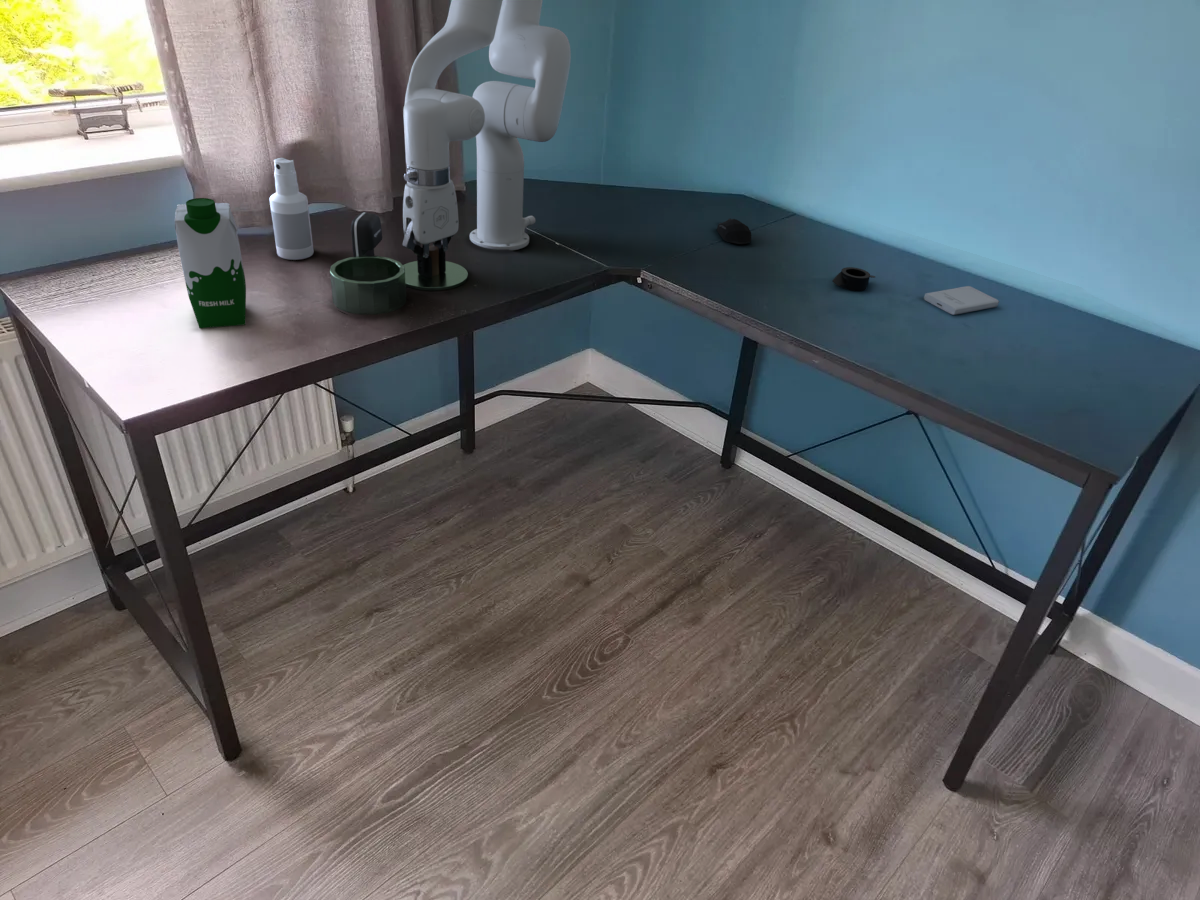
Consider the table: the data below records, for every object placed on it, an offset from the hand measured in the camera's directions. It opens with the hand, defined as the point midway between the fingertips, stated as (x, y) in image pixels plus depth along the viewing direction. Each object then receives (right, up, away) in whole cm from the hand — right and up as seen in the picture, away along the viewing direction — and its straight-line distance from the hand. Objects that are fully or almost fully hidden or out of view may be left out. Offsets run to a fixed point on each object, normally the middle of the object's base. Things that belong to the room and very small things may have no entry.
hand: (431, 272), depth 158 cm
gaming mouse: (+62, +16, +36) cm, 73 cm away
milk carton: (-31, -12, -19) cm, 38 cm away
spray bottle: (-28, +5, +6) cm, 29 cm away
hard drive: (+105, -4, +12) cm, 106 cm away
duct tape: (+84, 0, +15) cm, 85 cm away
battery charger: (-12, -1, 0) cm, 12 cm away
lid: (0, -1, 0) cm, 1 cm away
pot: (-9, -7, -10) cm, 15 cm away
